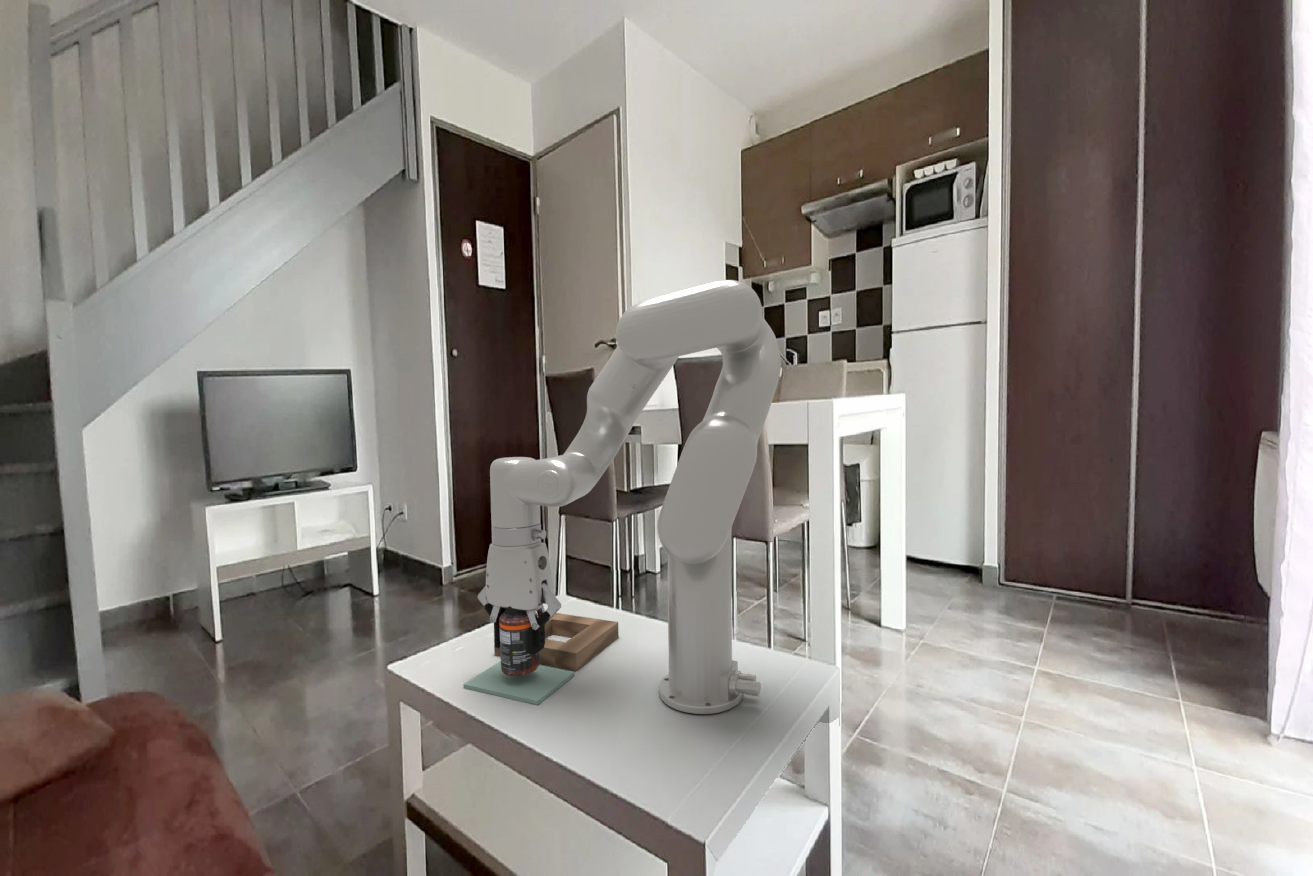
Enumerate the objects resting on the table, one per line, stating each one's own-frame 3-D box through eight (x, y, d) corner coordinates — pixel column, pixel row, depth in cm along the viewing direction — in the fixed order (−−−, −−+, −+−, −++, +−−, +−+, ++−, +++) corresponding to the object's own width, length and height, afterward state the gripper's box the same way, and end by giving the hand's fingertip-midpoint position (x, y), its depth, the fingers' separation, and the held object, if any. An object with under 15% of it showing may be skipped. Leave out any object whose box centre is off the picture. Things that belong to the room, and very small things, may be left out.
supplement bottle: (530, 658, 93) (529, 590, 92) (545, 671, 88) (543, 600, 87) (495, 667, 89) (493, 597, 89) (508, 681, 84) (506, 608, 84)
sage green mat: (574, 675, 90) (574, 671, 90) (537, 705, 81) (537, 701, 81) (504, 661, 96) (504, 658, 96) (463, 688, 87) (463, 684, 87)
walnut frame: (618, 637, 106) (618, 622, 106) (576, 671, 92) (576, 653, 92) (543, 625, 113) (543, 611, 112) (494, 655, 99) (494, 638, 99)
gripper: (576, 534, 88) (578, 647, 88) (489, 527, 95) (492, 632, 95) (548, 544, 81) (551, 666, 82) (457, 536, 88) (460, 649, 88)
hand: (519, 646), depth 88 cm, fingers closed on supplement bottle, 6 cm apart
